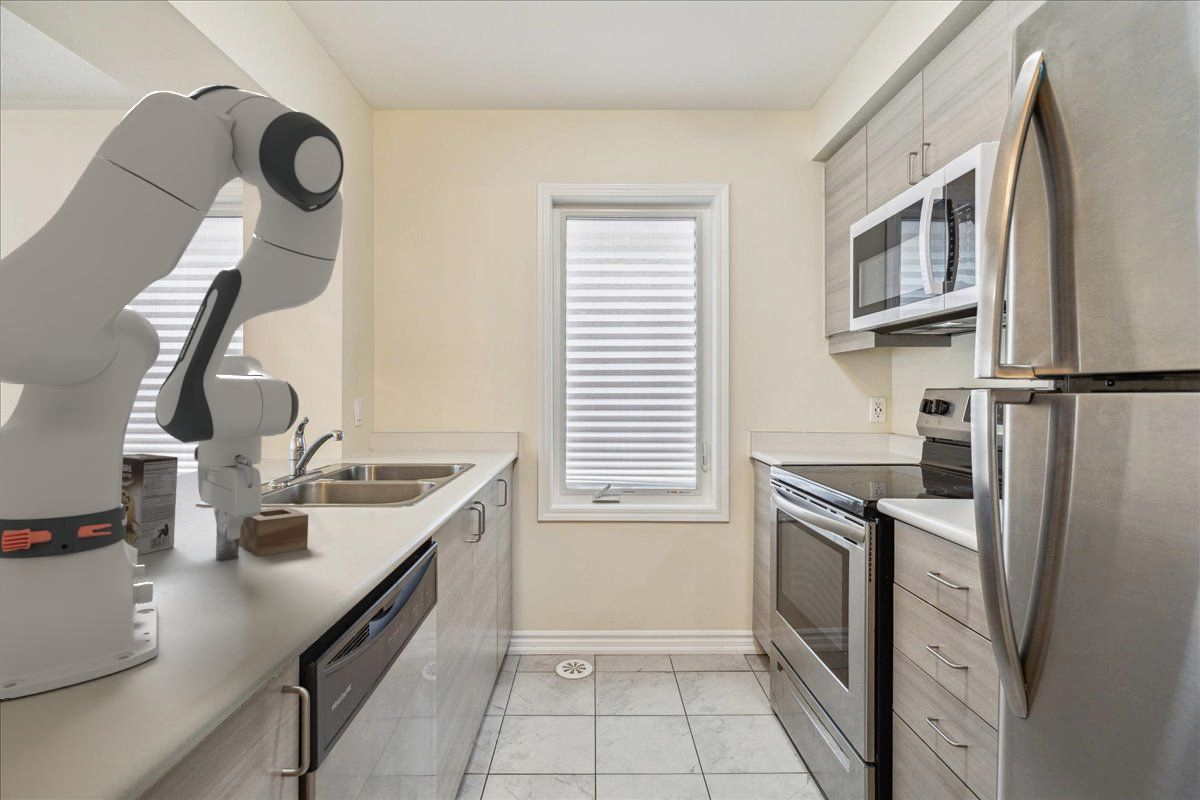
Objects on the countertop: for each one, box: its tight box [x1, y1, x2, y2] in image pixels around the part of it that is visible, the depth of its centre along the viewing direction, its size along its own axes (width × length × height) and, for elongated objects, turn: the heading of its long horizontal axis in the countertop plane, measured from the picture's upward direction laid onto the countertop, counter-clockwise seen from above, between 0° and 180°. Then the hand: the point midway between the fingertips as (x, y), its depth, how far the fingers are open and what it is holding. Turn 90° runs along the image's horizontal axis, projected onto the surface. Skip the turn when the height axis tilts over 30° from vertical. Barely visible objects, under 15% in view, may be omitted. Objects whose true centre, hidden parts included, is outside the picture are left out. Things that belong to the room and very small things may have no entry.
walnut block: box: [239, 505, 309, 557], centre depth 104 cm, size 10×8×6 cm
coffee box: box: [121, 453, 179, 556], centre depth 100 cm, size 9×6×16 cm
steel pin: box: [215, 509, 240, 561], centre depth 96 cm, size 3×3×10 cm
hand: (228, 536), depth 96 cm, fingers closed on steel pin, 3 cm apart
